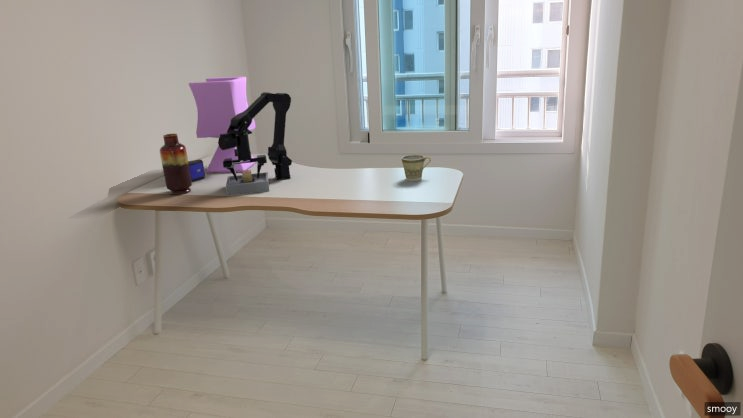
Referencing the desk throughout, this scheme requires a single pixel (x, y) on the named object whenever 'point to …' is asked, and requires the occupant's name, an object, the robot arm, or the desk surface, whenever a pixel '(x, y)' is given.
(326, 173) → the desk surface
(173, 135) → the vase
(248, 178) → the connector plug
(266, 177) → the grey socket tray
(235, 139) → the robot arm
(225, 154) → the lavender hourglass shape
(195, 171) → the blue screen device
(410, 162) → the ceramic cup
